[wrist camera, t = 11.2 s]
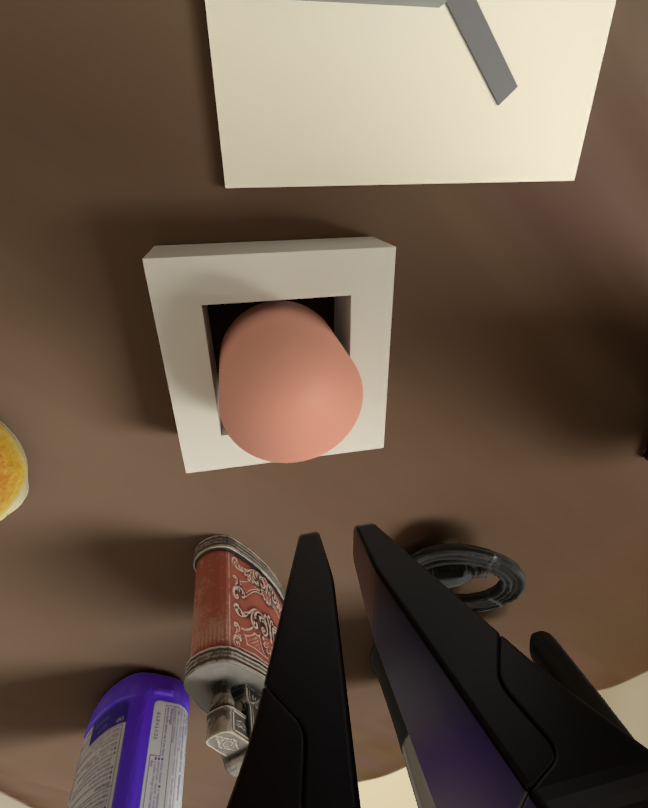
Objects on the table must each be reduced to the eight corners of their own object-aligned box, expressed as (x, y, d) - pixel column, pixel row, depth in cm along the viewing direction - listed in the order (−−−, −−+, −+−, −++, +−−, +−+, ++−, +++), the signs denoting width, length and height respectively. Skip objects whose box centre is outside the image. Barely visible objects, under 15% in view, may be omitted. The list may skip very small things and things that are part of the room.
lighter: (179, 552, 25) (156, 756, 16) (230, 525, 25) (234, 716, 16) (253, 621, 29) (266, 814, 20) (297, 598, 29) (329, 782, 20)
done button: (336, 296, 18) (365, 327, 14) (336, 404, 20) (361, 453, 17) (211, 304, 17) (208, 340, 13) (227, 416, 19) (227, 471, 16)
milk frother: (402, 693, 37) (497, 969, 24) (293, 614, 29) (346, 956, 17) (546, 606, 35) (731, 854, 22) (470, 498, 28) (684, 780, 15)
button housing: (372, 236, 19) (396, 246, 16) (365, 416, 23) (383, 447, 20) (154, 245, 17) (142, 258, 15) (190, 437, 21) (186, 473, 19)
